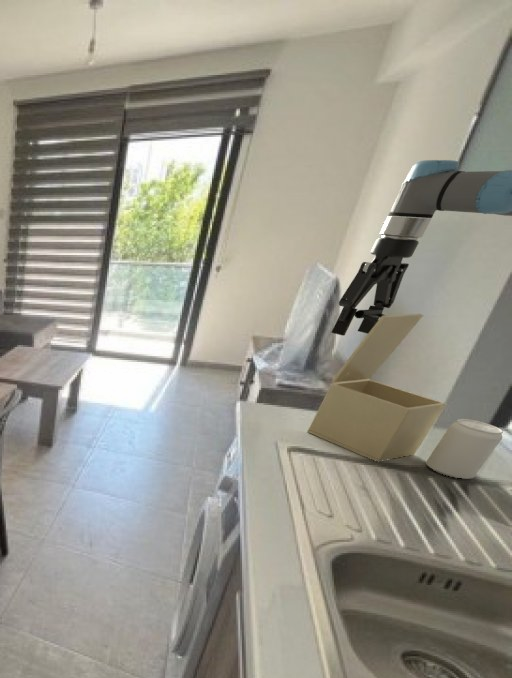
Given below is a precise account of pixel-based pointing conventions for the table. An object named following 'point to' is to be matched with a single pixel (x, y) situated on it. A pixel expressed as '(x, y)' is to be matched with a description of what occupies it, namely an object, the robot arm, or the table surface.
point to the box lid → (376, 344)
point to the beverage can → (464, 448)
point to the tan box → (375, 419)
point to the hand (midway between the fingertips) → (351, 333)
